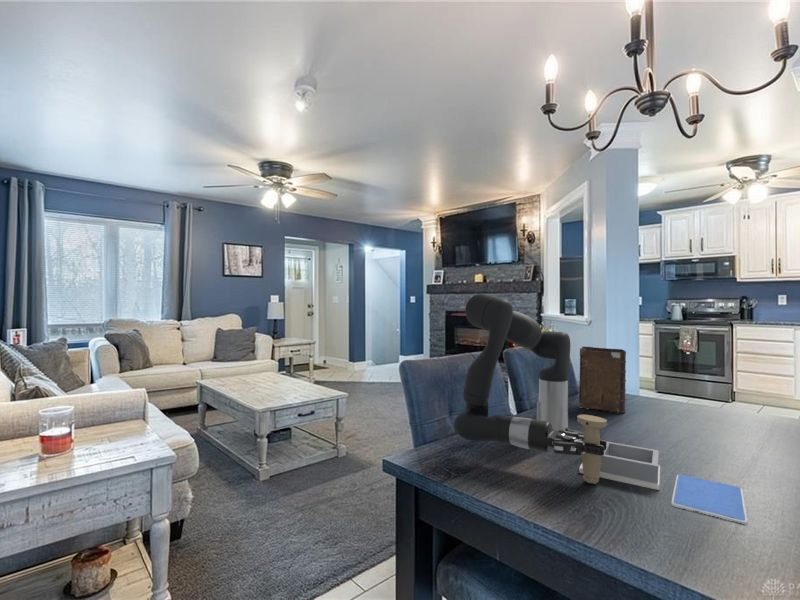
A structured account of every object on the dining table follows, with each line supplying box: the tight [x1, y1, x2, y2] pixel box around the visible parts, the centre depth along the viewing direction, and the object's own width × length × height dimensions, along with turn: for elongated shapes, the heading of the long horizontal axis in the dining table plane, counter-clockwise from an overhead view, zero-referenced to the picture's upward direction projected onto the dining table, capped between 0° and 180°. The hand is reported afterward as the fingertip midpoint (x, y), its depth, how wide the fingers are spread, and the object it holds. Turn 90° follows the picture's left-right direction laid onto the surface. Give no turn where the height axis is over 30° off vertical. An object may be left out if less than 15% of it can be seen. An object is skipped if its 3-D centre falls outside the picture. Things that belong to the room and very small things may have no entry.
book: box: [578, 346, 627, 414], centre depth 165 cm, size 17×7×25 cm, turn 54°
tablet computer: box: [670, 474, 749, 525], centre depth 90 cm, size 19×13×1 cm, turn 143°
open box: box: [578, 440, 661, 491], centre depth 104 cm, size 17×14×5 cm
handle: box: [576, 414, 608, 485], centre depth 97 cm, size 5×6×15 cm
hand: (604, 448), depth 95 cm, fingers closed on handle, 3 cm apart
